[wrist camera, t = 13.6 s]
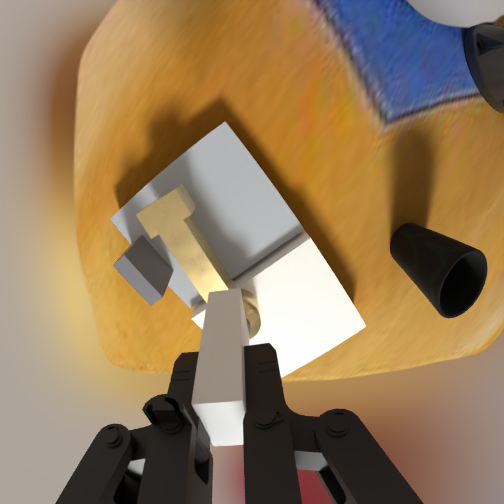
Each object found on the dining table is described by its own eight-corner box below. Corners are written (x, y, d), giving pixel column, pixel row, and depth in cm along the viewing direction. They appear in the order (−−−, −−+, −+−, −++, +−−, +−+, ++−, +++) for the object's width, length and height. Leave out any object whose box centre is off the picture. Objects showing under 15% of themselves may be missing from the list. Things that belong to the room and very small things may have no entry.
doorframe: (226, 123, 27) (222, 114, 18) (353, 306, 36) (381, 349, 27) (120, 212, 29) (83, 238, 21) (262, 363, 38) (269, 412, 30)
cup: (377, 270, 34) (427, 322, 23) (389, 212, 31) (451, 248, 20) (421, 270, 35) (473, 314, 23) (433, 217, 32) (495, 250, 21)
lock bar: (229, 330, 30) (229, 348, 27) (144, 207, 24) (133, 215, 21) (265, 313, 29) (269, 330, 26) (184, 182, 24) (177, 187, 21)
